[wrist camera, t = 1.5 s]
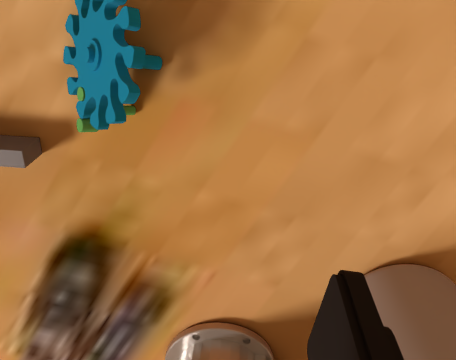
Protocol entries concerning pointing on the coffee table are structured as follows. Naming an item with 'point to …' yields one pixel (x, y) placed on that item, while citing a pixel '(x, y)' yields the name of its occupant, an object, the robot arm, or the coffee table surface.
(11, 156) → the gear bay
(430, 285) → the cylinder vase
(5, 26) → the coffee table surface
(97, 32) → the gear
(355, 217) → the coffee table surface
